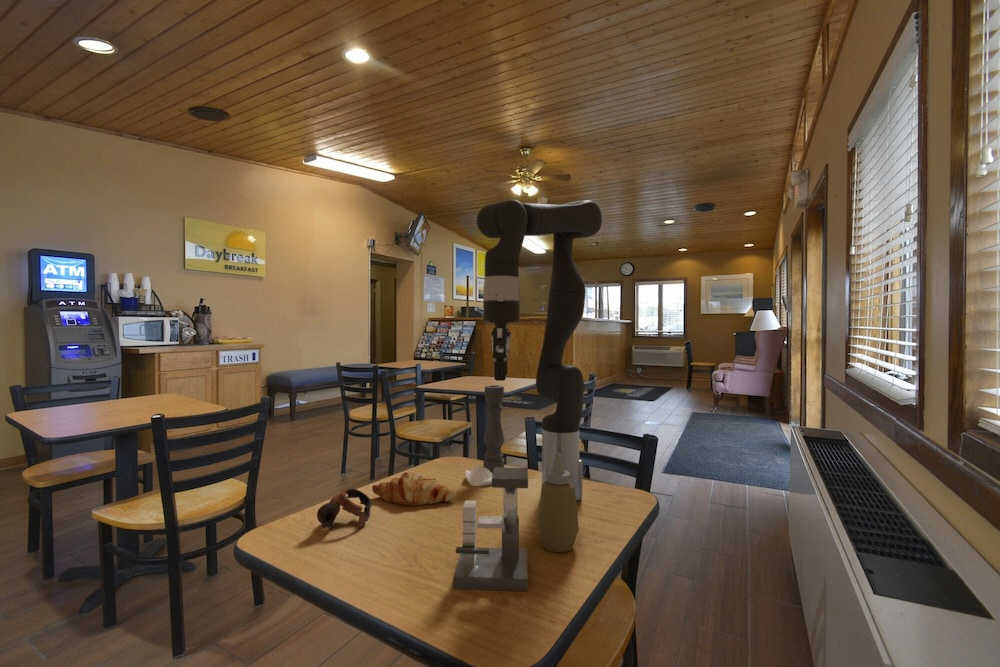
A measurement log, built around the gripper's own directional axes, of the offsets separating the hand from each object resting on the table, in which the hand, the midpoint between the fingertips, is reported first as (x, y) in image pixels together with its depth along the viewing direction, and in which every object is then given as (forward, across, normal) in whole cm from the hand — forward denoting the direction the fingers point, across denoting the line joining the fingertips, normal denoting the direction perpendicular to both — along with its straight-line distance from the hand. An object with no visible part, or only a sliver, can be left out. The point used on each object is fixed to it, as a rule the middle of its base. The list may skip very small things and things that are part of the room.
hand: (501, 377), depth 95 cm
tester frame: (+32, +16, 0) cm, 36 cm away
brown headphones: (+32, -1, -34) cm, 47 cm away
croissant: (+32, -16, -22) cm, 42 cm away
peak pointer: (+27, +18, -4) cm, 33 cm away
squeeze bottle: (+32, +5, +12) cm, 35 cm away
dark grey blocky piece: (+25, +16, +1) cm, 29 cm away
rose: (+33, -31, -7) cm, 46 cm away
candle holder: (+32, -40, -4) cm, 52 cm away
